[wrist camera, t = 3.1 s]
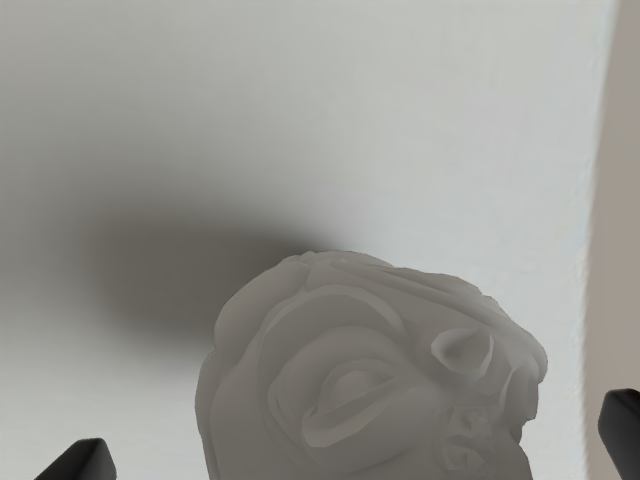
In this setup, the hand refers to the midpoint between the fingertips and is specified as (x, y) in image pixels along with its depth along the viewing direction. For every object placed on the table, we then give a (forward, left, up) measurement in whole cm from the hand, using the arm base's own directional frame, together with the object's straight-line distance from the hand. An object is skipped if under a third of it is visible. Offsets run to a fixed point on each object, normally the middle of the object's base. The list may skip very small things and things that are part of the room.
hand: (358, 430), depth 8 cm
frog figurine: (0, 0, -5) cm, 5 cm away
